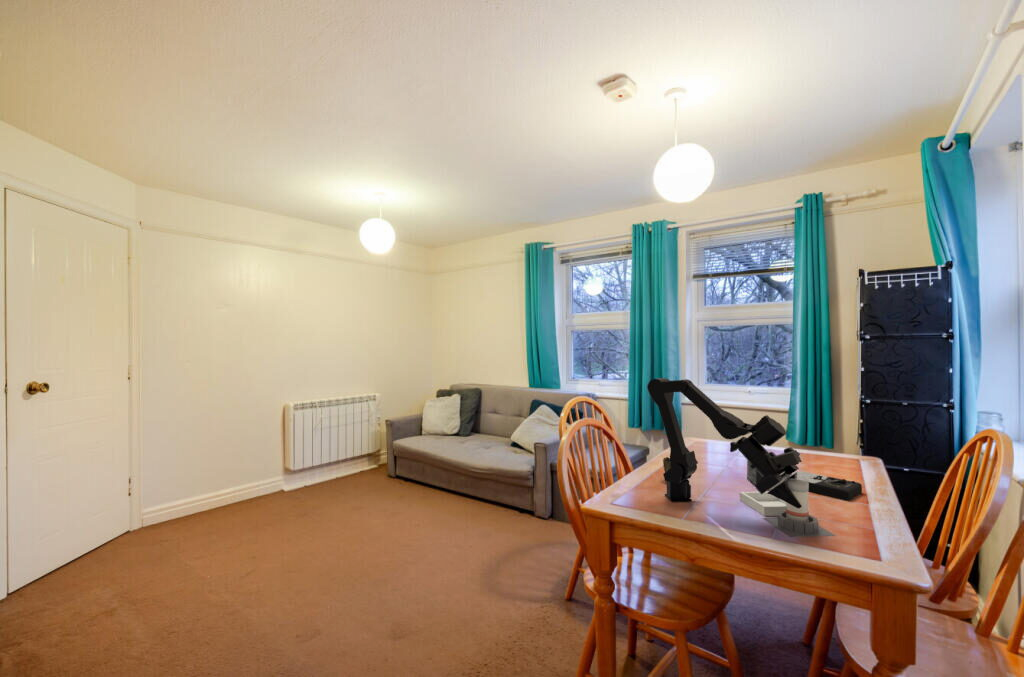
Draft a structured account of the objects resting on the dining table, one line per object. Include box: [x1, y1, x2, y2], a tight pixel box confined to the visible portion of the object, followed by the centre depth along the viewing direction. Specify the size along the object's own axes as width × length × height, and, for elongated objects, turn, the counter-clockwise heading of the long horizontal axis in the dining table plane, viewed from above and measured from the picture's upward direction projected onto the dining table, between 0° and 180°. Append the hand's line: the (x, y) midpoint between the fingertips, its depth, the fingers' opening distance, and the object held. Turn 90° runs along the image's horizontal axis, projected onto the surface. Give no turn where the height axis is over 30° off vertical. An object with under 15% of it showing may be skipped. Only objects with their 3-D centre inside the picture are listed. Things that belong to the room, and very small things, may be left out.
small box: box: [746, 459, 763, 488], centre depth 158 cm, size 11×6×10 cm, turn 168°
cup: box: [662, 456, 670, 473], centre depth 161 cm, size 8×7×8 cm
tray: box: [739, 491, 786, 517], centre depth 132 cm, size 13×13×4 cm
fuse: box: [786, 479, 810, 522], centre depth 118 cm, size 5×5×12 cm
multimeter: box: [792, 470, 863, 502], centre depth 151 cm, size 13×19×5 cm
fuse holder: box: [761, 511, 837, 538], centre depth 118 cm, size 12×12×4 cm
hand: (803, 505), depth 117 cm, fingers closed on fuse, 5 cm apart
